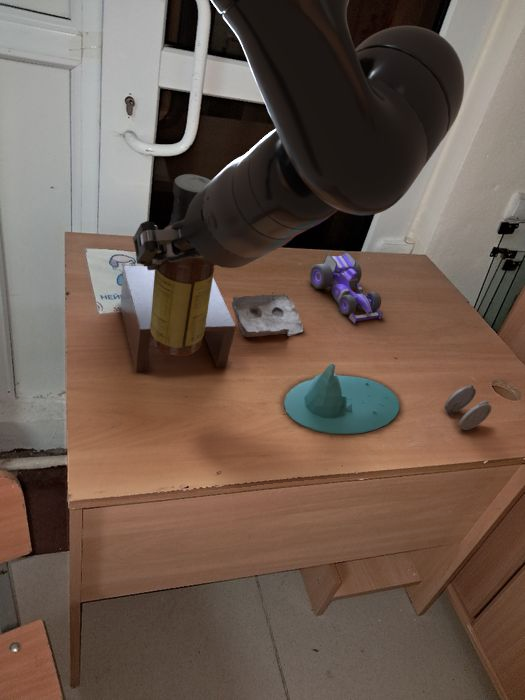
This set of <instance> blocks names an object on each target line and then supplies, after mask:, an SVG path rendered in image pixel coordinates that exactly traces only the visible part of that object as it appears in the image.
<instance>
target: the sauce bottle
mask: <svg viewBox="0 0 525 700" xmlns="http://www.w3.org/2000/svg"><path fill="white" fill-rule="evenodd" d="M211 180H212V179H209V178H207V177H204V176H202V175H201V176H200V175H197V174H192V173H187V174H186V173H185V174H182V175H178V176H177V177H176V178H175V179H174V182H173V187H172V193H173V197H174V198H173V205H172V213H171V215H170V222H169V223H168V225H167V227H168V226H170V225H173V224H174V223H176V222H179V221H182V220H184V219H185V216H186V213H187V210H188V208H189V205H190V203H191V201H192V199H193V198H194V197H195V195H196V194H197V193H198V192H199V191H200V190H201V189H203V188H204V187H205V186H206V185H207V184H208V183H209V182H210V181H211ZM163 247H164V254H166V253H167V249H166V243H165V244H163ZM181 253H185V252H184V251H182V250H181ZM214 274H215V266H214V264H213V263H211V262H209V261H208V260H206V259H205V258H204V259H192V260H189V261H185V262H182V263H172V262H169V261H168V262H165V263H164V264H163V265H161V266H160V267H158V268H157V269H156V270H155V276H154V286H153V299H152V312H151V324H150V331H151V339H150V342H152V344H153V346H154V347H155V348H156V349H157V350H158V351H160V352H161V353H163V354H165V355H170V356H177V357H185V356H190V355H193V354H194V353H196V352H197V351H198V350H199V349H200V348H201V346H202V341H203V338H204V337H205V336H204V331H205V325H206V319H207V312H208V306H209V299H210V293H211V287H212V280H213V278H214Z"/></svg>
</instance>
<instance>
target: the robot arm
mask: <svg viewBox="0 0 525 700" xmlns="http://www.w3.org/2000/svg"><path fill="white" fill-rule="evenodd" d="M210 1H211V3H212V4H213V6H214V7H215V8H216V10H217V12H218V13H219V14H222V18H223V20H224V21H225V22H226V24H227V25H228V26H229V27H230V29H231V30H232V31H233V33H234V34H235V36H236V37H237V39H238V41H239V43H240V45H241V47H242V50H243V52H244V55H245V58H246V60H247V62H248V65H249V68H250V71H251V73H252V75H253V78H254V80H255V83H256V85H257V88H258V90H259V92H260V94H261V98H262V99H263V102H264V104H265V106H266V109H267V112H268V114H269V116H270V118H271V121H272V124H273V126H274V128H275V129H273V130H272V131H270V132H268V134H266V135H264V137H262V139H260V140H259V141H258V142H257V143H256V144H255V145H254V146H253V147H251V148H250V149H249V151H247V152H245V154H243V155H241V156H239V157H237V158H236V159H234V160H233V161H231V162H230V163H229V164H227V165H226V166H225V167H224V168H223V169H222V170H221V171H220V172H219V173H218V174H217V175H216V176H214V177H213V178H212V179H210V180H211V181H210V182H209V183H208V184H207V185H206V186H205V187H204V188H203V189H201V190H200V191H199V192H198V193H197V194H196V195H195V197H194V198H193V199H192V201H191V203H190V205H189V208H188V210H187V213H186V216H185V219H184V220H182V221H179V222H176V223H174V224H173V225H170V226H168V225H167V226H166V227H164V229H159V227H158V225H156V223H155V222H154V221H150V220H145V221H143V222H141V223H140V224H139V226H138V228H137V230H136V232H135V234H134V235H133V237H132V241H133V245H134V250H135V260H136V264H137V265H140V266H147V269H148V270H156V269H157V268H158V267H160V266H161V265H163V264H164V263H165V262H168V261H169V262H172V263H182V262H185V261H189V260H192V259H204V258H205V259H206V260H208V261H209V262H211V263H213V264H214V267H215V266H217V267H219V268H220V267H221V268H224V269H225V268H226V269H236V268H241V267H244V266H246V265H248V264H250V263H253V262H254V261H256V260H258V259H260V258H262V257H264V256H266V255H268V254H270V253H272V252H275V251H276V250H278V249H279V248H283V246H285V245H287V244H288V243H289V242H290V241H292V240H293V239H294V238H295V237H297V236H299V235H300V234H302V233H304V232H306V231H308V230H310V229H311V228H313V227H316V226H318V225H320V224H321V223H323V222H325V221H326V220H328V219H329V218H330V217H331V216H333V215H334V214H335V213H336V212H337V211H340V212H343V213H345V214H349V215H355V216H372V215H377V214H381V213H383V212H385V211H387V210H389V209H390V208H391V207H393V206H394V205H396V204H397V203H398V202H399V201H400V200H401V199H402V198H403V197H404V196H405V195H406V194H407V193H408V191H409V190H410V188H411V187H412V186H413V184H414V183H415V181H416V180H417V178H418V177H419V175H420V174H421V172H422V171H423V169H424V168H425V166H426V165H427V164H428V162H429V161H430V159H431V157H432V156H433V155H434V153H435V152H436V150H437V149H438V147H439V146H440V145H441V143H442V142H443V140H444V139H445V138H446V136H447V135H448V133H449V131H450V130H451V128H452V127H453V125H454V123H455V122H456V119H457V117H458V115H459V113H460V110H461V107H462V104H463V99H464V95H465V94H464V93H465V73H464V68H463V65H462V61H461V59H460V56H459V55H458V53H457V51H456V50H455V48H454V47H453V45H451V44H450V42H449V41H448V40H447V39H446V38H444V37H443V36H442V35H440V34H439V33H437V32H436V31H433V30H431V29H429V28H426V27H422V26H417V25H397V26H393V27H388V28H384V29H382V30H380V31H377V32H375V33H374V34H372V35H370V36H369V37H367V38H366V39H364V40H363V41H362V42H361V43H360V44H359V45H358V46H356V47H355V45H354V42H353V38H352V35H351V32H350V28H349V24H348V19H347V15H348V14H347V13H348V12H347V11H348V6H349V2H350V0H210ZM165 243H166V249H167V253H166V254H164V247H163V244H165ZM181 250H182V251H184V252H185V253H181Z"/></svg>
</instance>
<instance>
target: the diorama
mask: <svg viewBox="0 0 525 700" xmlns="http://www.w3.org/2000/svg"><path fill="white" fill-rule="evenodd" d="M335 370H336V365H335V364H334V363H329V365H328V366H326V368H325V370H324V371H323V372H322V373H320V374H317V375H316V376H315V377H314V378H312V379H308V380H305V381H301V382H300V383H298V384H297V385H295V386H294V387H292V388H291V389H290V390H289V392H288V393H287V394H286V395H285V398H284V399H285V400H284V402H283V406H284V410H285V413H286V414H287V415H288V416H289V417H290V419H291V420H292V421H294V422H295V423H297V424H298V425H300V426H301V427H304V428H307V429H309V430H312V431H314V432H319V433H324V434H329V435H356V434H363V433H368V432H372V431H375V430H378V429H380V428H382V427H385V426H386V425H388V424H390V423H391V422H392V421H393V420H394V419H395V418H396V417H397V415H398V413H399V412H400V401H399V400H398V397H397V395H396V394H395V393H394V392H393V391H392V390H391V389H390V388H388V387H386V386H384V385H383V384H382V383H379V382H377V381H375V380H371V379H369V378H364V377H358V376H351V375H341V374H340V375H338V374H336V373H335Z"/></svg>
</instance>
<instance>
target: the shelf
mask: <svg viewBox="0 0 525 700" xmlns="http://www.w3.org/2000/svg"><path fill="white" fill-rule="evenodd" d="M154 276H155V270H148V269H147V266H144V265H123V266H122V277H121V278H122V280H121V292H120V293H121V294H120V311H121V316H122V320H123V323H124V324H123V325H124V327H125V332H126V336H127V340H128V344H129V349H130V353H131V356H132V361H133V364H134V365H133V366H134V369H135V373H138V372H147V371H148V363H149V357H150V356H149V355H150V347H151V331H150V324H151V312H152V299H153V286H154ZM235 330H236V324H235V322H234V320H233V317H232V314H231V313H230V311H229V308H228V307H227V305H226V301H225V300H224V297H223V296H222V293H221V291H220V289H219V286H218V284H217V283H216V280H215V278H214V277H213V280H212V287H211V293H210V299H209V306H208V312H207V319H206V325H205V331H204V336H203V337H204V338H205V340H206V343H207V346H208V349H209V350H210V351H209V352H210V353H211V356H212V359H213V361H214V364H215V366H216V367H226V366H227V364H228V361H229V356H230V352H231V348H232V343H233V339H234V334H235Z"/></svg>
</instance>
